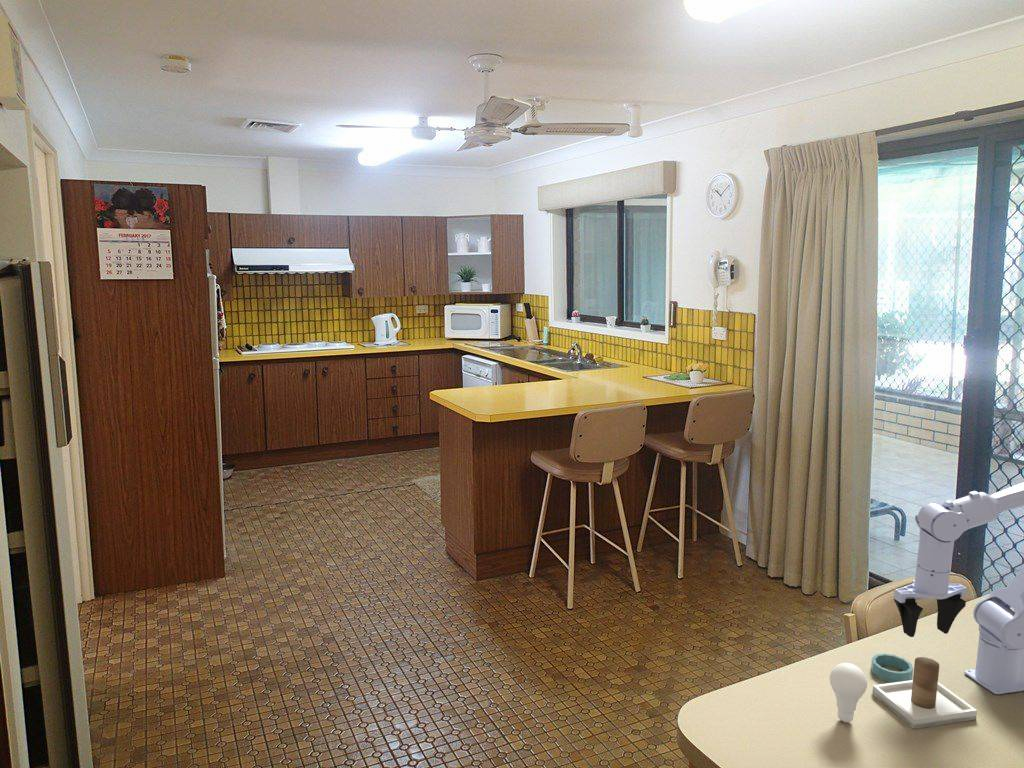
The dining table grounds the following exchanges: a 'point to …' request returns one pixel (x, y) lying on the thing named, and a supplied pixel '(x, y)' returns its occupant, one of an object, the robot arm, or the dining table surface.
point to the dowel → (925, 682)
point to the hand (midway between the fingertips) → (925, 632)
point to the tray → (943, 713)
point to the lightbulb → (847, 688)
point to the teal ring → (888, 674)
